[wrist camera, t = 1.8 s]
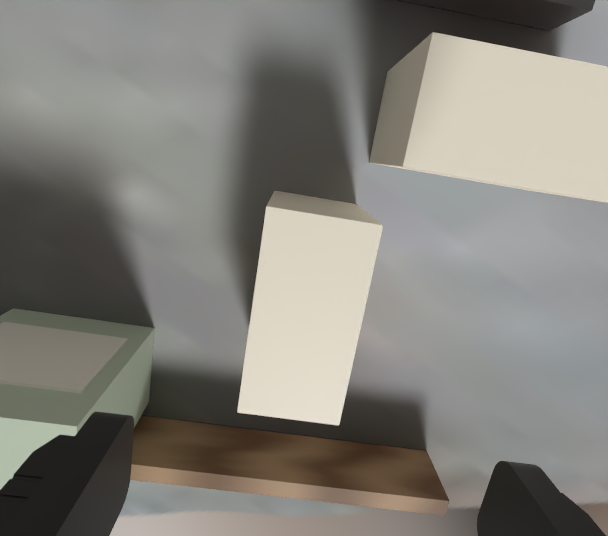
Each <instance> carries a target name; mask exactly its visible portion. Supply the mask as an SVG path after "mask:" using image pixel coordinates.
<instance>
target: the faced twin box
mask: <svg viewBox="0 0 608 536" xmlns="http://www.w3.org/2000/svg"><path fill="white" fill-rule="evenodd" d="M369 163H374V164H379V165H385V166H391V167H397V168H402V169H408V170H414V171H420V172H425V173H431V174H437V175H443V176H449V177H454V178H460V179H466V180H472V181H477V182H483V183H489V184H495V185H500V186H506V187H512V188H518V189H523V190H529V191H536V192H542V193H548V194H555V195H561V196H568V197H574V198H581V199H587V200H594V201H600V202H607V203H608V67H607V66H602V65H597V64H592V63H587V62H582V61H576V60H571V59H566V58H561V57H556V56H551V55H546V54H541V53H536V52H531V51H526V50H521V49H516V48H511V47H506V46H501V45H496V44H491V43H486V42H481V41H476V40H471V39H466V38H461V37H455V36H450V35H445V34H440V33H435V32H432V33H431V34H430V35H429V36H428V37H427V38H426V39H424V40H423V41H422V42H421V43H420V44H419V45H417V46H416V47H415V48H414V49H413V50H412V51H411V52H409V53H408V54H407V55H406V56H405V57H404V58H403V59H401V60H400V61H399V62H398V63H397V64H396V65H395V66H393V67H392V68H391V69H390V70H389V71H388V72H387V77H386V82H385V87H384V92H383V97H382V102H381V107H380V112H379V117H378V121H377V126H376V131H375V136H374V141H373V146H372V151H371V156H370V161H369Z"/></svg>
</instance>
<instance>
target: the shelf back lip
mask: <svg viewBox="0 0 608 536" xmlns="http://www.w3.org/2000/svg"><path fill="white" fill-rule="evenodd" d="M130 480H137V481H146V482H155V483H164V484H173V485H181V486H190V487H199V488H208V489H217V490H226V491H234V492H243V493H252V494H261V495H270V496H278V497H287V498H296V499H305V500H314V501H323V502H331V503H340V504H349V505H358V506H367V507H375V508H384V509H393V510H402V511H411V512H419V513H429V514H437V515H445V513H446V510H447V507H448V504H449V499H448V497H447V495H446V493H445V490H444V488H443V486H442V484H441V481H440V479H439V477H438V475H437V473H436V470H435V468H434V466H433V464H432V461H431V459H430V457H429V455H428V453H427V451H422V450H414V449H406V448H398V447H390V446H382V445H374V444H366V443H358V442H350V441H342V440H334V439H326V438H318V437H310V436H301V435H293V434H285V433H277V432H269V431H261V430H253V429H245V428H237V427H229V426H221V425H213V424H205V423H197V422H189V421H181V420H173V419H165V418H157V417H149V416H141V417H140V419H139V420H138V422H137V424H136V426H135V427H134V433H133V449H132V464H131V477H130Z"/></svg>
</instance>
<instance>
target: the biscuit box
mask: <svg viewBox="0 0 608 536" xmlns="http://www.w3.org/2000/svg"><path fill="white" fill-rule="evenodd" d="M382 228H383V225H382V224H381V223H380V222H378V221H377V220H376V219H375V218H373V217H372V216H371V215H370V214H368V213H367V212H366V211H364V210H363V209H362V208H361V207H359V206H358V205H357V204H353V203H347V202H341V201H335V200H329V199H323V198H317V197H311V196H305V195H299V194H293V193H287V192H281V191H275V190H274V192H273V194H272V196H271V198H270V200H269V202H268V204H267V206H266V212H265V219H264V226H263V233H262V240H261V247H260V254H259V261H258V269H257V276H256V283H255V290H254V297H253V304H252V311H251V318H250V325H249V332H248V339H247V346H246V353H245V360H244V367H243V374H242V381H241V389H240V396H239V403H238V410H237V413H245V414H252V415H260V416H268V417H276V418H284V419H292V420H299V421H307V422H315V423H323V424H331V425H339V424H340V419H341V415H342V410H343V406H344V401H345V397H346V392H347V388H348V383H349V378H350V374H351V369H352V365H353V360H354V356H355V351H356V347H357V342H358V338H359V333H360V328H361V324H362V319H363V315H364V310H365V306H366V301H367V297H368V292H369V287H370V283H371V278H372V274H373V269H374V265H375V260H376V256H377V251H378V246H379V242H380V237H381V233H382Z"/></svg>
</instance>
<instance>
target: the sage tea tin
mask: <svg viewBox="0 0 608 536" xmlns="http://www.w3.org/2000/svg"><path fill="white" fill-rule="evenodd" d="M154 331H155V328H151V327H143V326H136V325H129V324H122V323H115V322H108V321H100V320H93V319H86V318H79V317H72V316H65V315H57V314H50V313H43V312H36V311H29V310H21V309H14V308H13V309H11V310H9V311H7V312H6V313H4V314H2V315H0V490H1V489H2V487H3V486H4V485H5V484H6V483H7V482H8V480H9V479H12V478H13V476H14V473H15V472H16V471H17V470H18V469H19V468H20V466H21V465H22V464H23V463H24V462H25V461H26V459H27V458H28V457H29V456H30V455H31V454H32V452H33V451H35V450H37V449H38V448H40V447H41V446H43V445H44V444H46V443H47V442H49V441H50V440H52V439H54V438H55V437H57V436H58V435H69V436H75V435H76V434H77V433H78V431H79V430H80V429H81V427H82V426H83V425H84V423H85V422H86V421H87V419H88V418H89V417H90V416H91V414H92V413H94V412H105V413H114V414H122V415H131V416H133V418H134V427H135V426H136V424H137V422H138V420H139V419H140V417H141V415H142V413H143V412H144V410H145V408H146V407H147V405H148V403H149V397H150V384H151V370H152V357H153V344H154Z"/></svg>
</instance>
